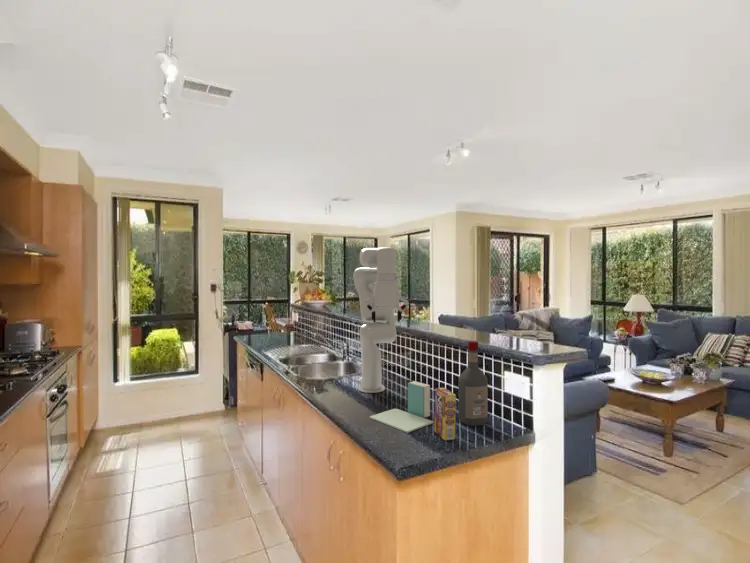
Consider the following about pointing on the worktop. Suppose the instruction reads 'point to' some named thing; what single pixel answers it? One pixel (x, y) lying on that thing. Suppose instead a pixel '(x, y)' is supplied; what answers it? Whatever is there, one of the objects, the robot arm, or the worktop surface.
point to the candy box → (445, 413)
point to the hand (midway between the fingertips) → (386, 321)
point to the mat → (401, 420)
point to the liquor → (473, 391)
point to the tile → (419, 399)
